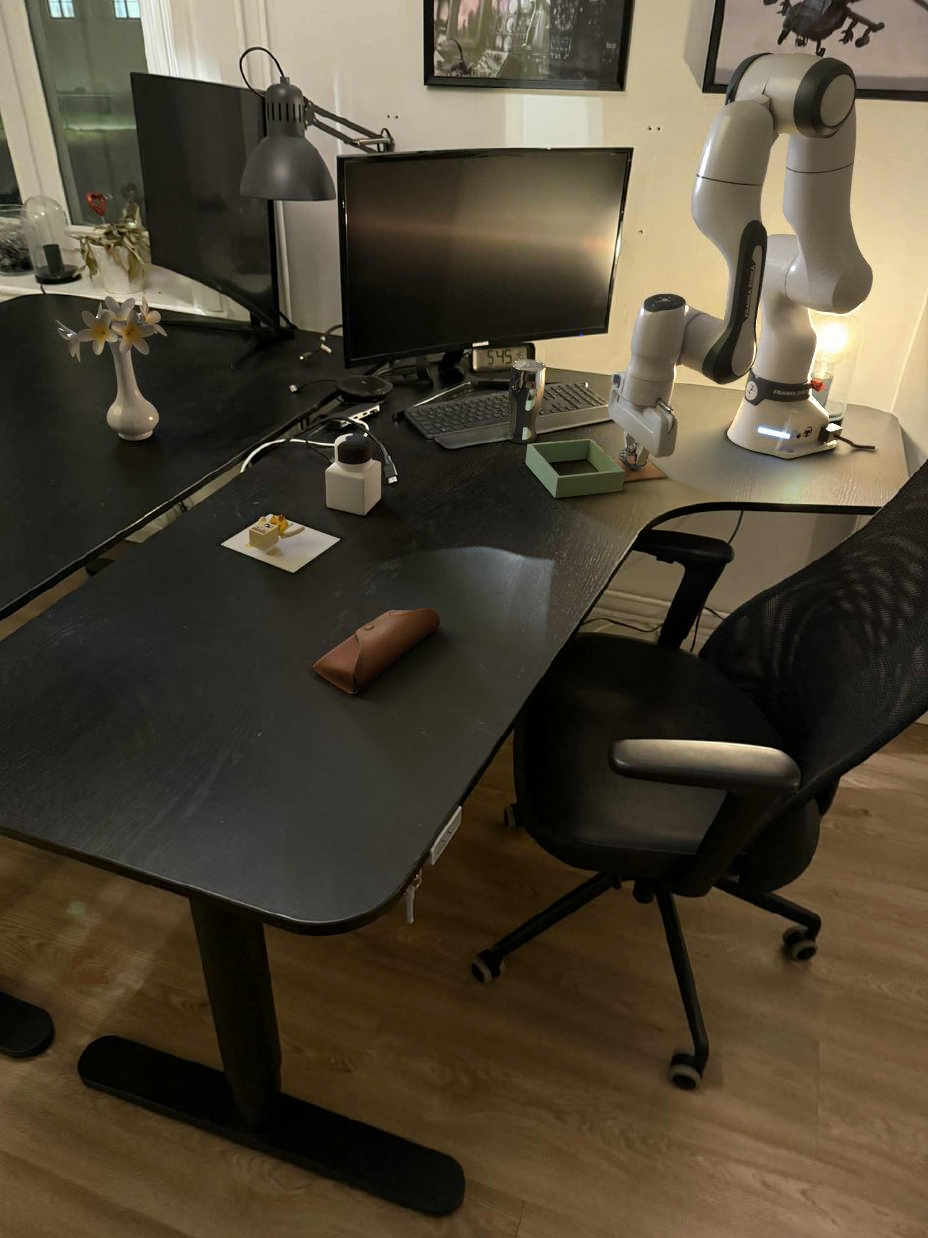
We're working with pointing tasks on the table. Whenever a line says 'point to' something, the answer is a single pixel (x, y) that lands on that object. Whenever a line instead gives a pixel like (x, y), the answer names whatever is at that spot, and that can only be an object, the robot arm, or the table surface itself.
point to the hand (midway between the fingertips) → (634, 458)
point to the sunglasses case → (375, 648)
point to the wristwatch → (624, 454)
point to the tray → (576, 484)
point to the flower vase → (121, 360)
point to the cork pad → (639, 471)
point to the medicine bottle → (353, 476)
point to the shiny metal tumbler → (525, 399)
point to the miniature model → (281, 542)
